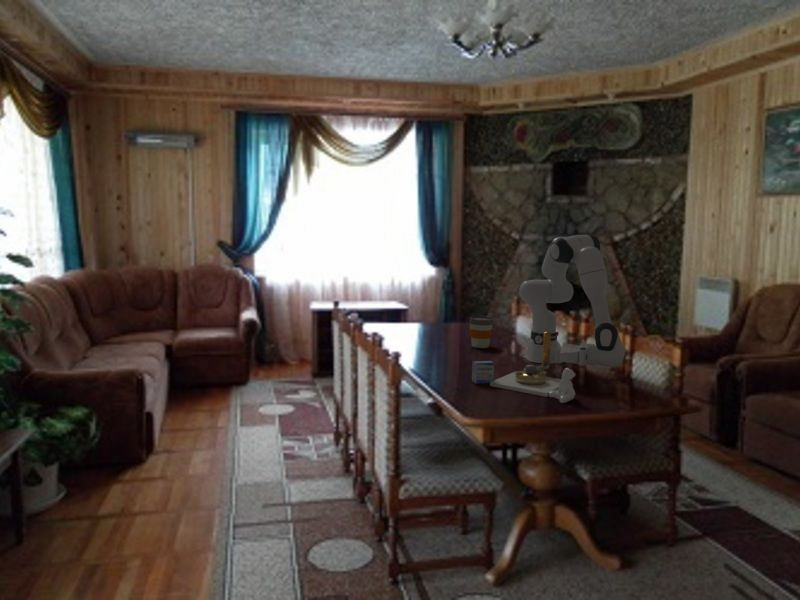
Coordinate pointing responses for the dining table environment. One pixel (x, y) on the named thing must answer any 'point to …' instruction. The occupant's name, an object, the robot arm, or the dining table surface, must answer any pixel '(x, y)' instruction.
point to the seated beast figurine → (564, 387)
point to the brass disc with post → (540, 374)
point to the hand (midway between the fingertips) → (549, 350)
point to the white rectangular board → (540, 390)
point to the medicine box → (482, 372)
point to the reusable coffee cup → (480, 331)
